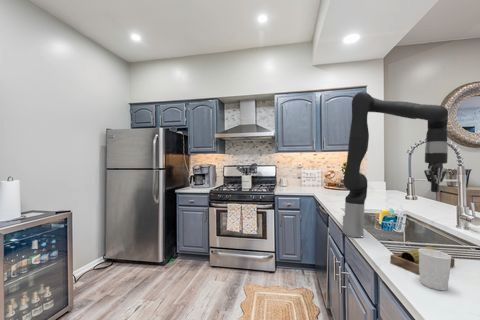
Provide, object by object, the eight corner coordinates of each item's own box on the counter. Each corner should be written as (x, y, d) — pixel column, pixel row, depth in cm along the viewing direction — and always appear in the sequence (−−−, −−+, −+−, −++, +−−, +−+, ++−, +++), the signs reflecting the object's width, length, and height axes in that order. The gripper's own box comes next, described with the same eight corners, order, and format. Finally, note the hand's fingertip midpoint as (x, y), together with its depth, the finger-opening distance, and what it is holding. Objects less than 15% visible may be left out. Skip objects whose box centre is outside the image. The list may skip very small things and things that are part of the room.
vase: (445, 258, 85) (420, 263, 80) (432, 265, 89) (407, 270, 84) (431, 243, 90) (407, 247, 84) (420, 250, 93) (396, 254, 88)
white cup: (411, 277, 76) (412, 247, 76) (435, 279, 76) (436, 249, 76) (430, 291, 68) (431, 257, 68) (457, 292, 68) (458, 259, 68)
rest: (390, 262, 87) (390, 255, 87) (421, 255, 96) (422, 248, 96) (422, 276, 78) (422, 267, 78) (454, 266, 86) (454, 258, 87)
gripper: (434, 153, 106) (432, 190, 106) (417, 151, 100) (416, 191, 100) (454, 153, 99) (453, 192, 99) (438, 151, 93) (436, 193, 93)
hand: (434, 191), depth 99 cm, fingers closed
